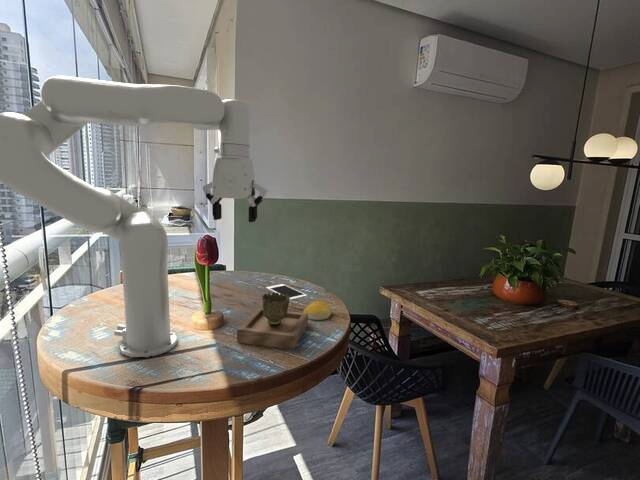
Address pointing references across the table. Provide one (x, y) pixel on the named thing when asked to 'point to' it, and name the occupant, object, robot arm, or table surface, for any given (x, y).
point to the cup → (275, 307)
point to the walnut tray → (273, 330)
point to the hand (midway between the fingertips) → (234, 220)
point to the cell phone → (286, 291)
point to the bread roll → (318, 310)
